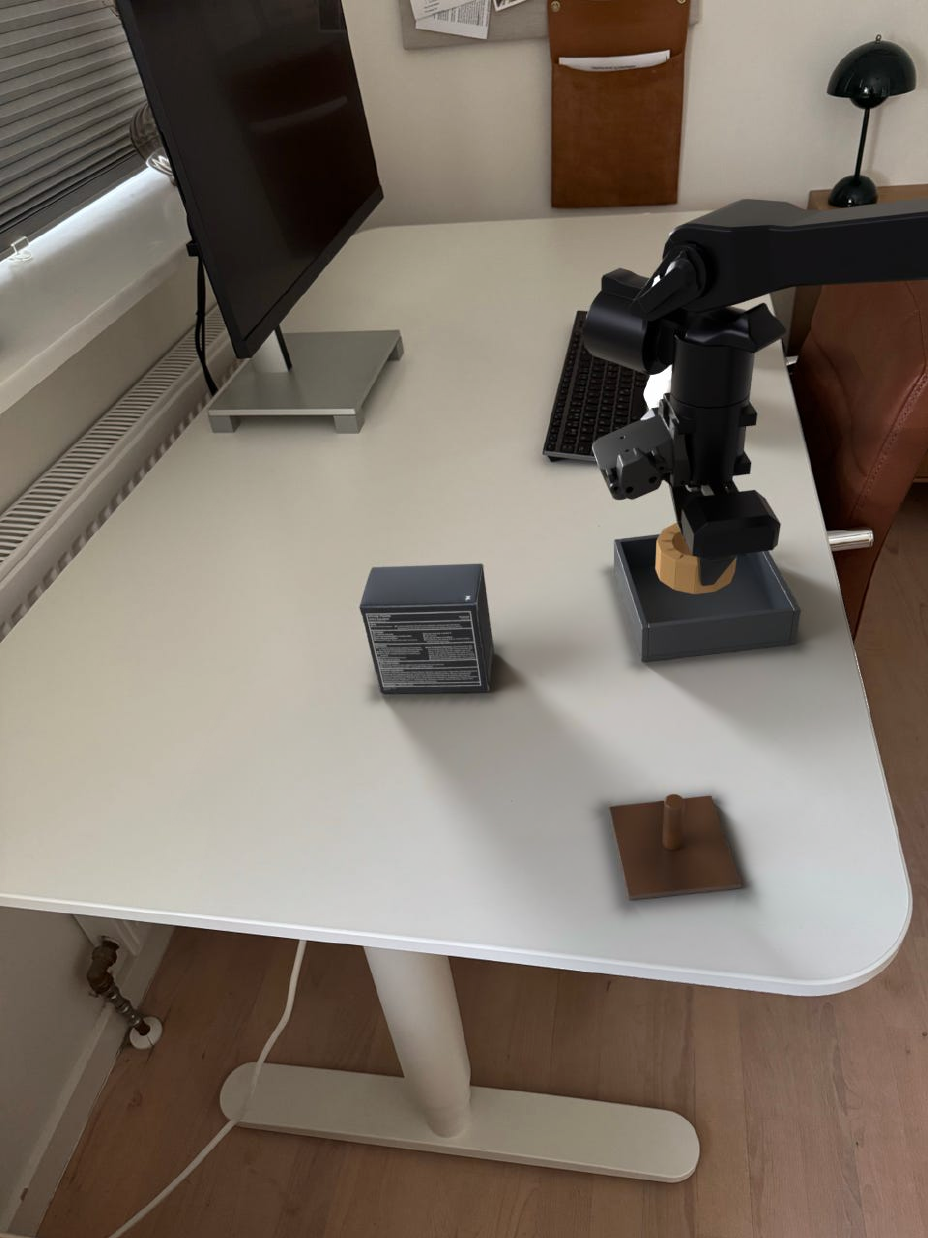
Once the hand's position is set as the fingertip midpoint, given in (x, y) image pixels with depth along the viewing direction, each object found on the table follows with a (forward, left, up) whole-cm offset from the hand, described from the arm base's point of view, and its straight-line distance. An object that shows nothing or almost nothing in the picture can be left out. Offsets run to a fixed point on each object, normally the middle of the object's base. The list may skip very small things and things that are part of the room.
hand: (696, 560), depth 76 cm
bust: (-10, -49, -11) cm, 51 cm away
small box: (+23, -2, -11) cm, 26 cm away
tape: (0, 0, -1) cm, 1 cm away
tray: (-3, -7, -11) cm, 13 cm away
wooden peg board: (+6, +21, -11) cm, 24 cm away
